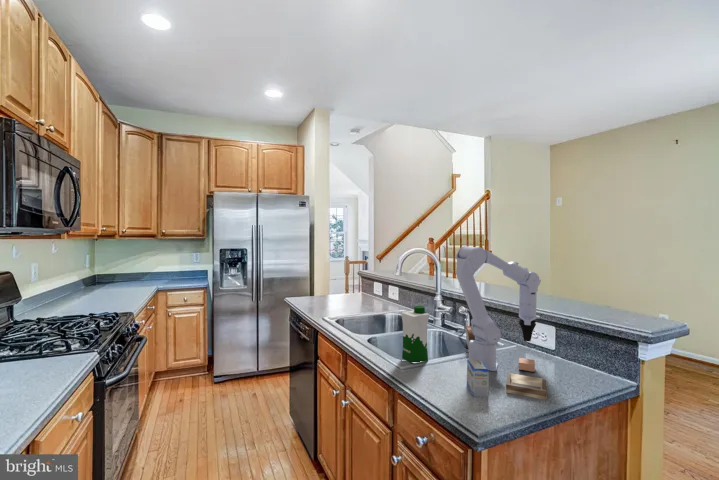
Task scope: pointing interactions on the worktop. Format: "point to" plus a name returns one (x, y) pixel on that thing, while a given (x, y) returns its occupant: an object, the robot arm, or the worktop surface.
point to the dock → (526, 386)
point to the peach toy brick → (527, 364)
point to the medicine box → (477, 378)
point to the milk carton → (415, 334)
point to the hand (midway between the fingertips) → (527, 339)
